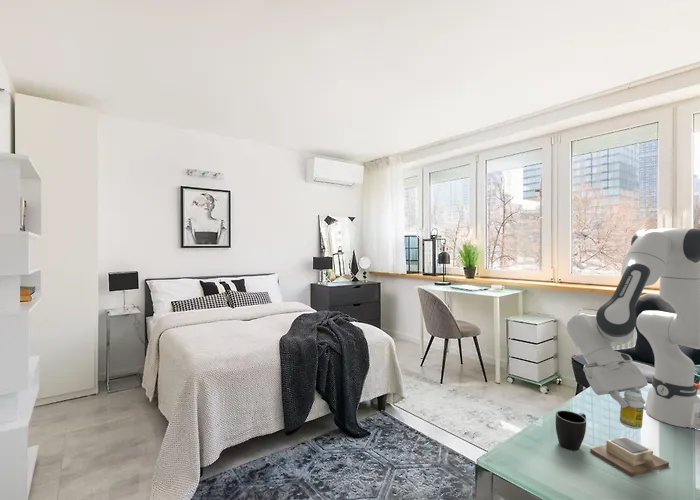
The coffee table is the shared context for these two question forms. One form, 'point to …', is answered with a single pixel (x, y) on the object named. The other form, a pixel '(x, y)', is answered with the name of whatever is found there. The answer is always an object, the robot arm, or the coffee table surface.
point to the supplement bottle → (632, 411)
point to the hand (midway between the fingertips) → (634, 405)
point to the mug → (570, 429)
